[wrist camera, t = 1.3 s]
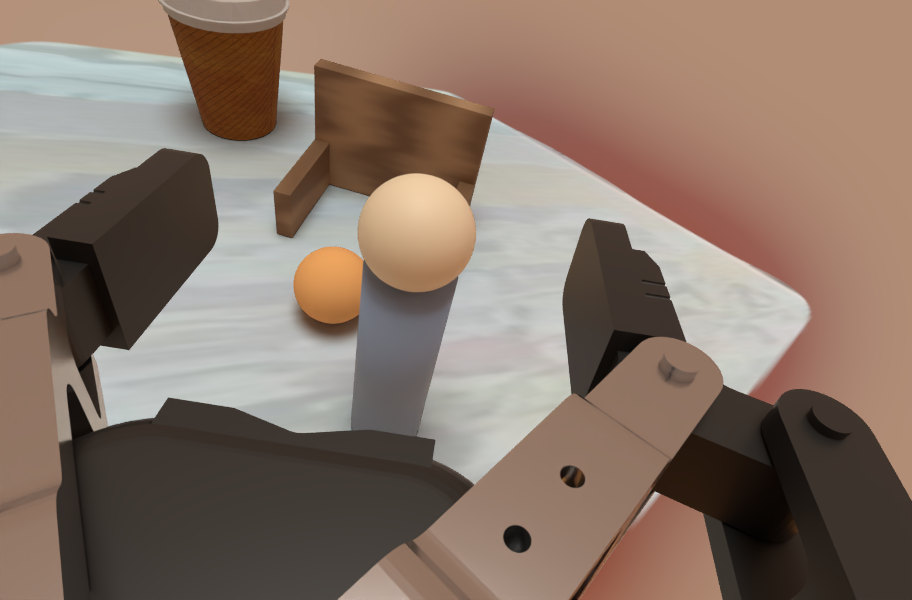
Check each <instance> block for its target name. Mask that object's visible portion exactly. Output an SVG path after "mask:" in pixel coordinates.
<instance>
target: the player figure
mask: <svg viewBox="0 0 912 600" xmlns="http://www.w3.org/2000/svg"><path fill="white" fill-rule="evenodd" d="M475 241H476V227H475V221H474V217H473V214H472V211H471V208H470V207H469V205H468V203H467V201H466V199H465V198H464V197H463V196H462V194H461V193H460V192H459V191H458V190H457V189H456V188H455V187H453V186H452V185H451V184H449V183H448V182H446V181H444V180H442V179H440V178H438V177H435V176H432V175H427V174H419V173H413V174H405V175H401V176H398V177H395V178H392V179H391V180H389V181H387V182H385V183H383V184H382V185H381V186H379V187H378V188H377V189H376V190H375V191H374V192H373V193H372V194H371V196H370V197H369V198H368V200H367V201H366V203H365V205H364V207H363V209H362V211H361V214H360V218H359V223H358V242H359V247H360V251H361V253H362V256H363V258H364V262H363V270H362V283H361V297H360V310H359V323H358V336H357V349H356V363H355V376H354V389H353V402H352V415H351V428H352V431H353V430H376V431H382V432H389V433H395V434H401V435H408V436H414V437H415V436H416V434H417V432H418V428H419V424H420V420H421V416H422V413H423V409H424V405H425V401H426V398H427V394H428V390H429V386H430V383H431V379H432V375H433V371H434V368H435V364H436V360H437V356H438V352H439V349H440V345H441V341H442V337H443V334H444V330H445V326H446V322H447V319H448V315H449V311H450V307H451V304H452V300H453V296H454V292H455V288H456V285H457V281H458V275H459V274H460V273H461V272H462V271H463V270H464V268H465V267H466V265H467V264H468V262H469V260H470V258H471V256H472V253H473V250H474V246H475Z"/></svg>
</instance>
